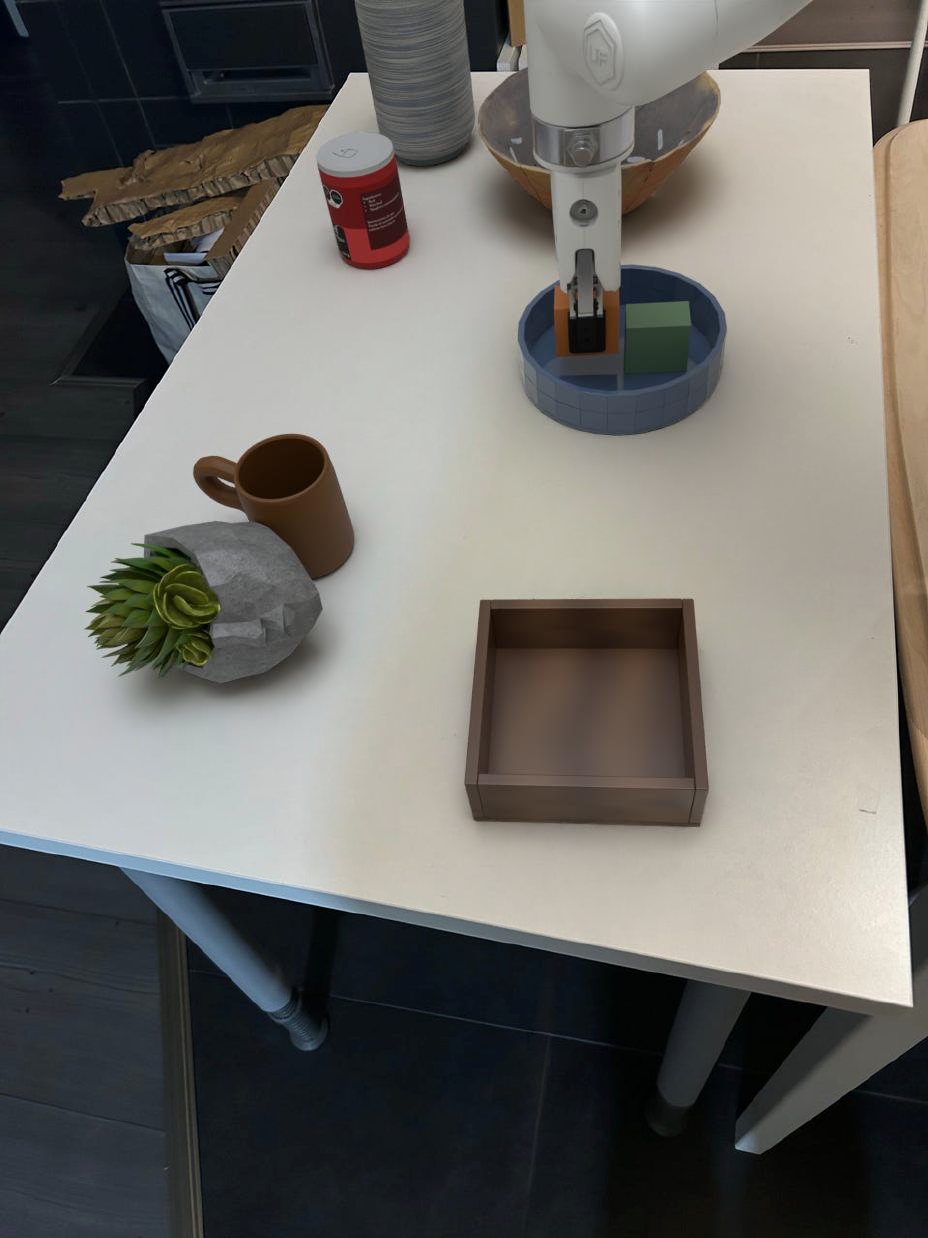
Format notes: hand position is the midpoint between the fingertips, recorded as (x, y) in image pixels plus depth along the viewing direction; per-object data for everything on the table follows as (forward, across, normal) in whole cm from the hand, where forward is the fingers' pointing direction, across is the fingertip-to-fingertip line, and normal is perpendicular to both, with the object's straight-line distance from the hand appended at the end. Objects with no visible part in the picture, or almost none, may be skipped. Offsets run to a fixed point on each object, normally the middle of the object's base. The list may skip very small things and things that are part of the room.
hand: (587, 334), depth 82 cm
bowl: (+4, +29, -1) cm, 30 cm away
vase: (+3, +42, +19) cm, 47 cm away
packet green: (+4, 0, -6) cm, 7 cm away
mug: (+4, -20, +25) cm, 33 cm away
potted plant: (+4, -31, +27) cm, 41 cm away
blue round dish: (+4, 0, -3) cm, 5 cm away
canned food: (+4, +21, +23) cm, 32 cm away
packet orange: (+1, 0, 0) cm, 1 cm away
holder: (+4, -38, 0) cm, 38 cm away
